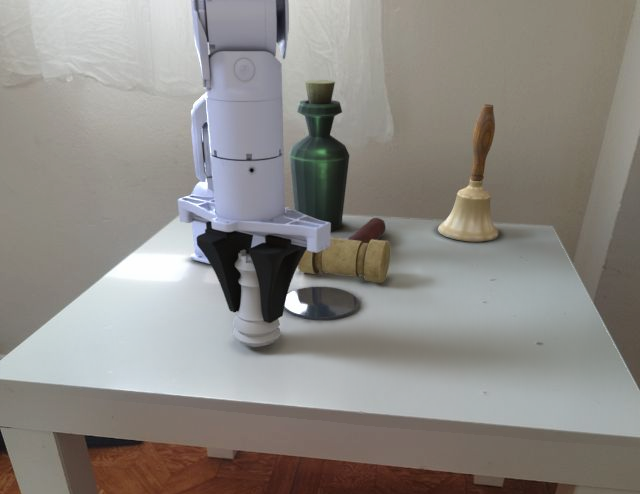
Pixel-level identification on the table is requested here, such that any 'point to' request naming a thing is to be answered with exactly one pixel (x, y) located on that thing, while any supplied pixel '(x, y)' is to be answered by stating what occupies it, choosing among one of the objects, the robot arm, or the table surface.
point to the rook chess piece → (252, 308)
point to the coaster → (320, 303)
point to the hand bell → (474, 191)
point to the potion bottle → (319, 158)
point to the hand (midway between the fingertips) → (255, 313)
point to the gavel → (353, 255)
